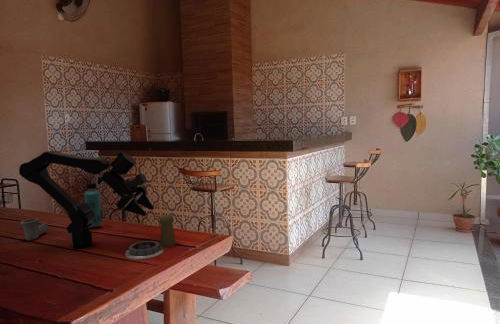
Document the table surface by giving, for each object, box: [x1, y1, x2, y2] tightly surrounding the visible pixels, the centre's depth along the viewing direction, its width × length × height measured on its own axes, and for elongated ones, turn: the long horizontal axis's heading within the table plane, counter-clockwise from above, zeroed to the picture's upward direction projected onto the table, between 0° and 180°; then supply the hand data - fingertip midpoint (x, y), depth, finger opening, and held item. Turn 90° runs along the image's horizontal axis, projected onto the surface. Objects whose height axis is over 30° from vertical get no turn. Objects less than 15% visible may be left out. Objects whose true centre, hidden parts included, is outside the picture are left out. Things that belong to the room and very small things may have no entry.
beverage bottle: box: [83, 182, 103, 227], centre depth 165 cm, size 6×7×20 cm
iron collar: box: [124, 240, 165, 261], centre depth 132 cm, size 13×13×3 cm
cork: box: [158, 214, 177, 248], centre depth 140 cm, size 6×6×11 cm
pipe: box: [20, 218, 49, 241], centre depth 155 cm, size 6×13×8 cm, turn 175°
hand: (149, 212), depth 140 cm, fingers open, 9 cm apart
